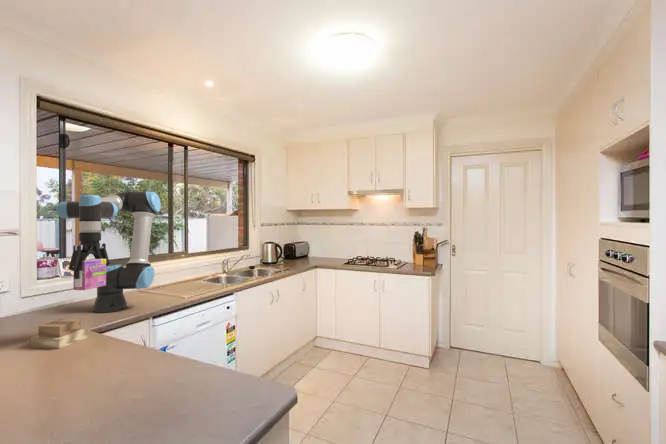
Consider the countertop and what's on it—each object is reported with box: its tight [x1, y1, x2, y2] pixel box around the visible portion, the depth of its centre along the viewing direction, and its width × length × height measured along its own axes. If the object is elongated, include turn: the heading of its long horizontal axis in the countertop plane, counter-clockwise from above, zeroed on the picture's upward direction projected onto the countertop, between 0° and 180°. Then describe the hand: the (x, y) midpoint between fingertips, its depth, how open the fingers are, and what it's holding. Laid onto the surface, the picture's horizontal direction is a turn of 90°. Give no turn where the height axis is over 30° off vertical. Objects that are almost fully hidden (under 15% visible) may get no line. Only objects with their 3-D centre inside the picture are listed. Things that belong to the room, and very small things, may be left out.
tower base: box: [30, 328, 88, 350], centre depth 130 cm, size 12×12×4 cm
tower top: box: [38, 318, 82, 338], centre depth 130 cm, size 9×9×4 cm
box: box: [73, 258, 106, 291], centre depth 141 cm, size 10×6×12 cm, turn 169°
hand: (90, 284), depth 141 cm, fingers closed on box, 11 cm apart
